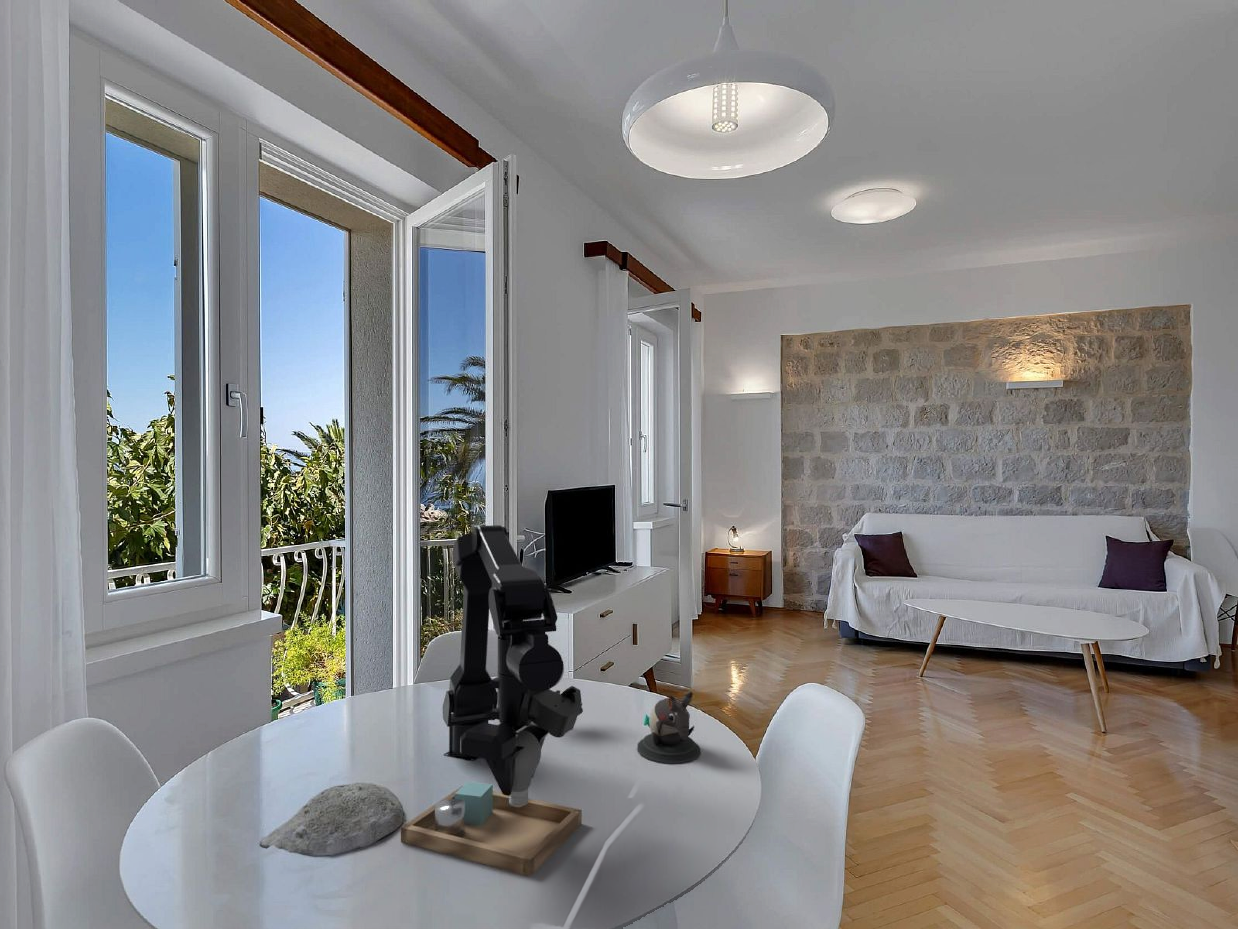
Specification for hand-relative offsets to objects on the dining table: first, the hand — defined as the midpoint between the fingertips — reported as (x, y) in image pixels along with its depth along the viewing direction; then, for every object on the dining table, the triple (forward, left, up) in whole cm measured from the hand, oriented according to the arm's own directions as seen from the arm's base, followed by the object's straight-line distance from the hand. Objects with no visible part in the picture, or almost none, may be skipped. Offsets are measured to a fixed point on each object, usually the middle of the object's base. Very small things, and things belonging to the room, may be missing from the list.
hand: (518, 786), depth 94 cm
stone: (-24, -7, -8) cm, 26 cm away
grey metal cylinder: (-9, -3, -7) cm, 12 cm away
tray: (-4, 0, -8) cm, 8 cm away
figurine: (+8, +38, -8) cm, 40 cm away
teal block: (-9, +2, -7) cm, 12 cm away
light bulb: (0, 0, -3) cm, 3 cm away
